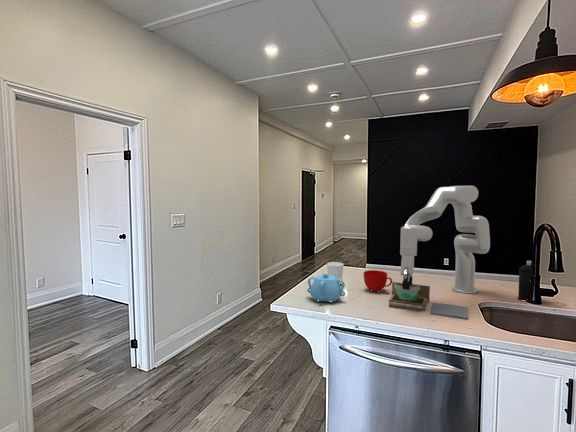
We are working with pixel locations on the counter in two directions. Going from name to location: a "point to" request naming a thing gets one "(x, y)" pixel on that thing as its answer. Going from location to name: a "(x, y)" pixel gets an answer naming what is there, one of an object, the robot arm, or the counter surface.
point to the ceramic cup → (376, 280)
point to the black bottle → (524, 281)
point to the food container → (407, 293)
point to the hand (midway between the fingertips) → (407, 286)
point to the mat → (449, 310)
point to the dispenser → (420, 305)
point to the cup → (335, 269)
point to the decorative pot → (326, 288)
